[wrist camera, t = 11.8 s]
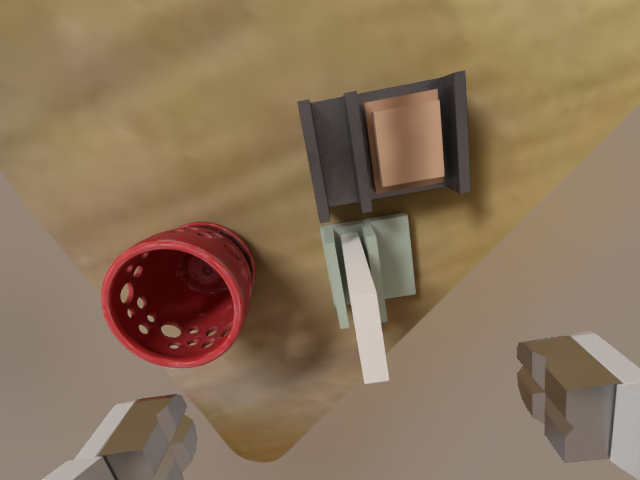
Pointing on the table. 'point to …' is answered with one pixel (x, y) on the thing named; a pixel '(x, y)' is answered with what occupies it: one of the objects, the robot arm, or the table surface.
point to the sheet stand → (371, 259)
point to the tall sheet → (364, 310)
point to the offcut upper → (408, 143)
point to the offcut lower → (367, 110)
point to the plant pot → (181, 293)
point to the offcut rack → (352, 149)
